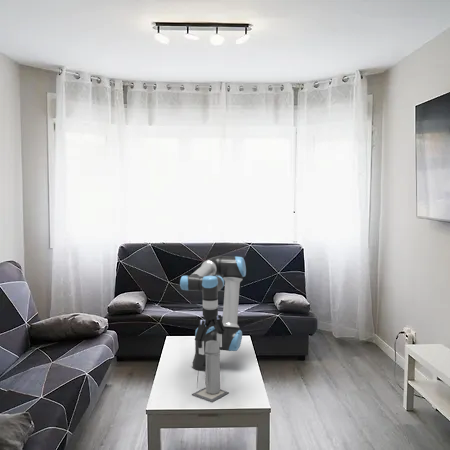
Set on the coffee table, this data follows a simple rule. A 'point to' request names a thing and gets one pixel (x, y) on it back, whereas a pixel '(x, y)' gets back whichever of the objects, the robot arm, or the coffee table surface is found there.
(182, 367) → the coffee table surface
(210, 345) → the water bottle
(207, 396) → the coaster mat
